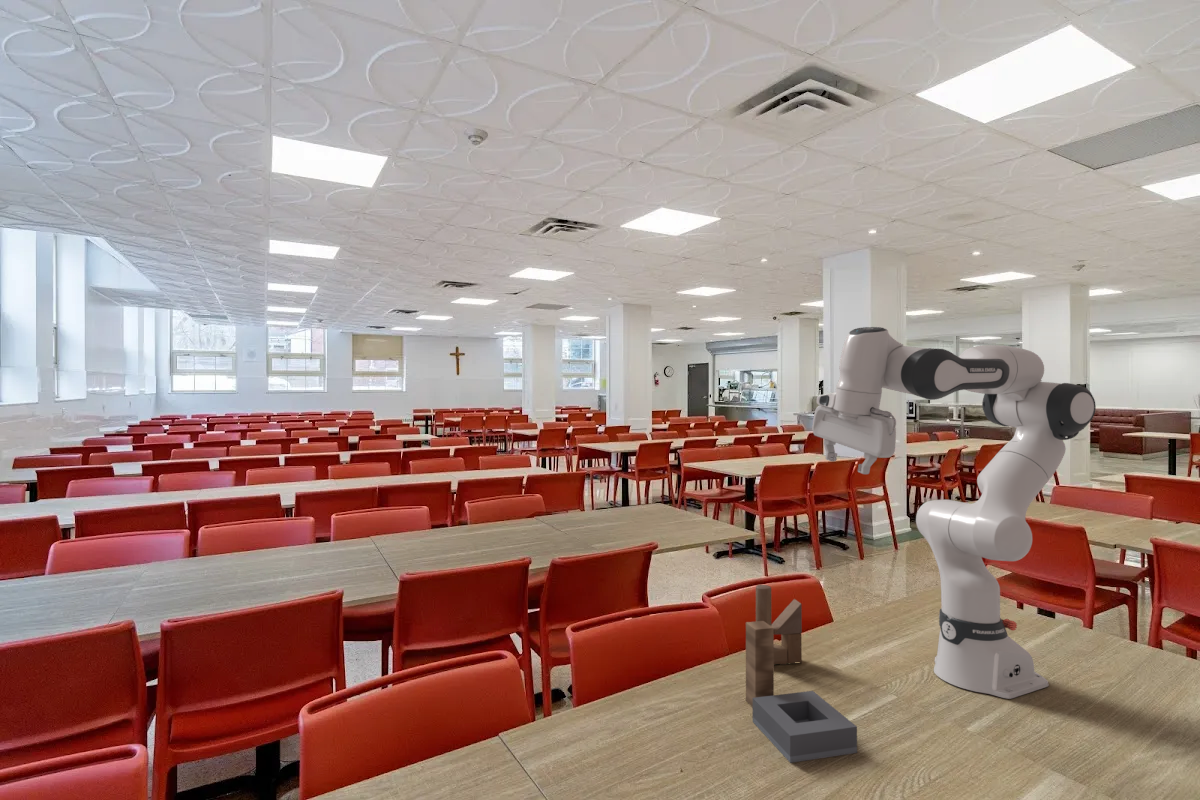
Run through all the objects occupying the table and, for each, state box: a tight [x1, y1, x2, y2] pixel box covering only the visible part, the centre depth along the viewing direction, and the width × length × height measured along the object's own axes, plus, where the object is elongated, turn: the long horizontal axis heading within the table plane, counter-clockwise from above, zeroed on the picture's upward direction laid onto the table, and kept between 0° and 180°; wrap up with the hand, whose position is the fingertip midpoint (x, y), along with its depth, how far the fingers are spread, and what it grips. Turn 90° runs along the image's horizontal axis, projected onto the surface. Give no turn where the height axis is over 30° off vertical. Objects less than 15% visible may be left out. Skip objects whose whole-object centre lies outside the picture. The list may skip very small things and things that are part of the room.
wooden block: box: [755, 584, 803, 665], centre depth 134 cm, size 4×11×18 cm, turn 99°
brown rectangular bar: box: [745, 620, 775, 709], centre depth 114 cm, size 4×4×16 cm
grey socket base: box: [752, 690, 858, 764], centre depth 103 cm, size 13×13×4 cm
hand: (846, 466), depth 121 cm, fingers open, 8 cm apart
